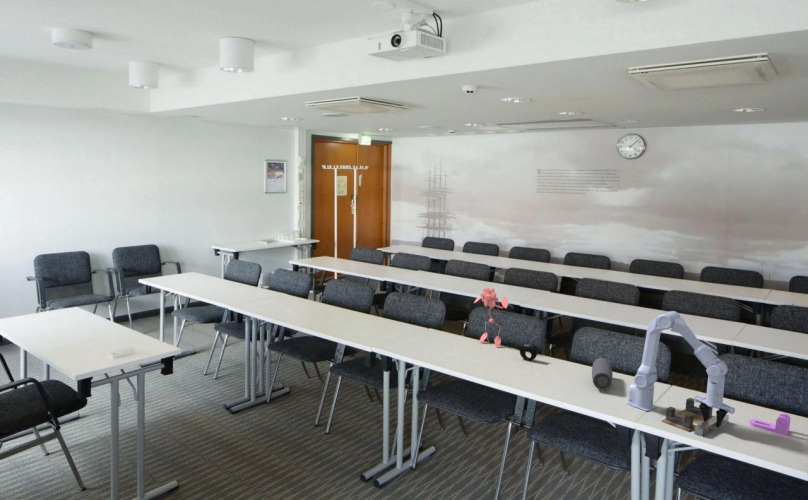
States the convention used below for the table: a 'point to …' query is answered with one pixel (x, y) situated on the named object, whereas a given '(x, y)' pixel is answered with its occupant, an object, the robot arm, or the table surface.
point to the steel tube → (709, 425)
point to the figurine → (490, 300)
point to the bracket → (779, 427)
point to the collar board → (682, 414)
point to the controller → (524, 348)
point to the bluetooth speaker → (602, 374)
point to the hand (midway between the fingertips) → (712, 424)
